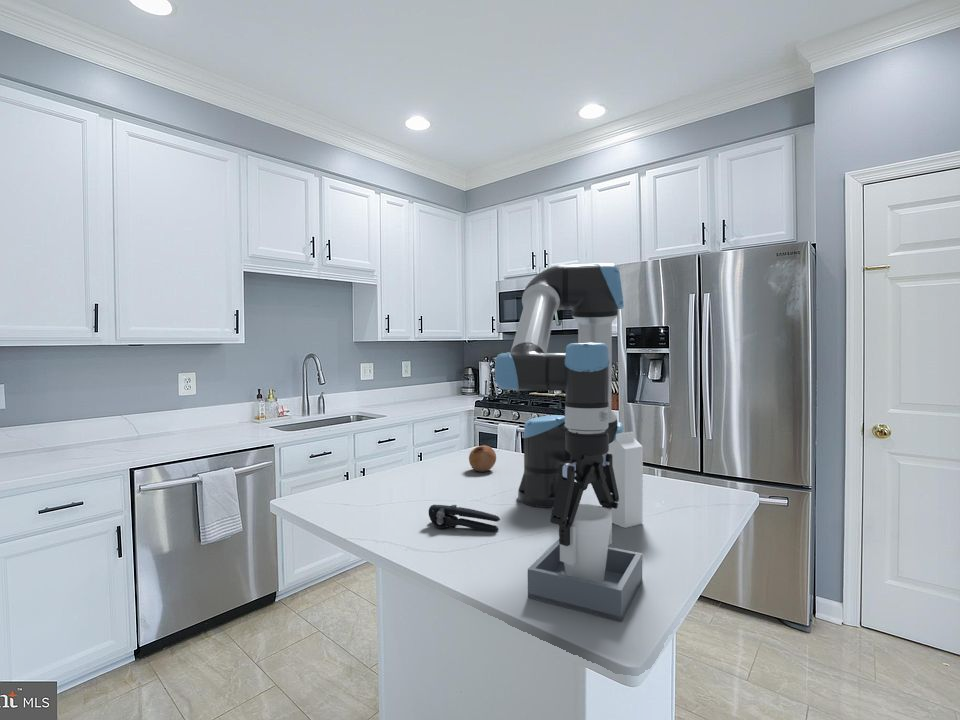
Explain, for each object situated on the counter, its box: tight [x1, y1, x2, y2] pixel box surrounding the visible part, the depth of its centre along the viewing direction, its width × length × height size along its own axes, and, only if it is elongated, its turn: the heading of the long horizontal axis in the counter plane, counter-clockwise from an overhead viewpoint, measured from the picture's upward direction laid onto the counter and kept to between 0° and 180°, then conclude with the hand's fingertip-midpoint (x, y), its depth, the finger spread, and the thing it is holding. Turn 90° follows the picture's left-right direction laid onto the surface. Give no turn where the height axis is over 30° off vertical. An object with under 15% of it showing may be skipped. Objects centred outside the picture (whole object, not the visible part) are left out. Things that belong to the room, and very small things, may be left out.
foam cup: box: [557, 503, 613, 583], centre depth 90 cm, size 10×9×13 cm
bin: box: [527, 538, 643, 623], centre depth 90 cm, size 16×16×5 cm
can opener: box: [428, 504, 501, 533], centre depth 121 cm, size 18×7×6 cm, turn 73°
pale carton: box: [607, 431, 644, 529], centre depth 123 cm, size 6×6×22 cm
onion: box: [468, 444, 497, 473], centre depth 175 cm, size 10×9×10 cm
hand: (586, 552), depth 90 cm, fingers open, 11 cm apart
